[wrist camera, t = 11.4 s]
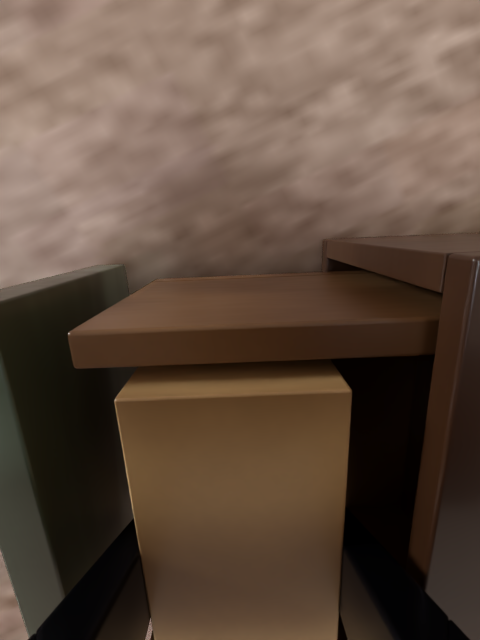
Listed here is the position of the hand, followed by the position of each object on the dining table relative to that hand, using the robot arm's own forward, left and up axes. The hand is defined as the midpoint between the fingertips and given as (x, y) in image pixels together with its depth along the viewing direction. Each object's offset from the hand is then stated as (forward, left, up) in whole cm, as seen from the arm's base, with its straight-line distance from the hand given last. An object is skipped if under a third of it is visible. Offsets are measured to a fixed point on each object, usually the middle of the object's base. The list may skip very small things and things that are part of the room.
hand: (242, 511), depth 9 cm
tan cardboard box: (0, 0, -1) cm, 1 cm away
